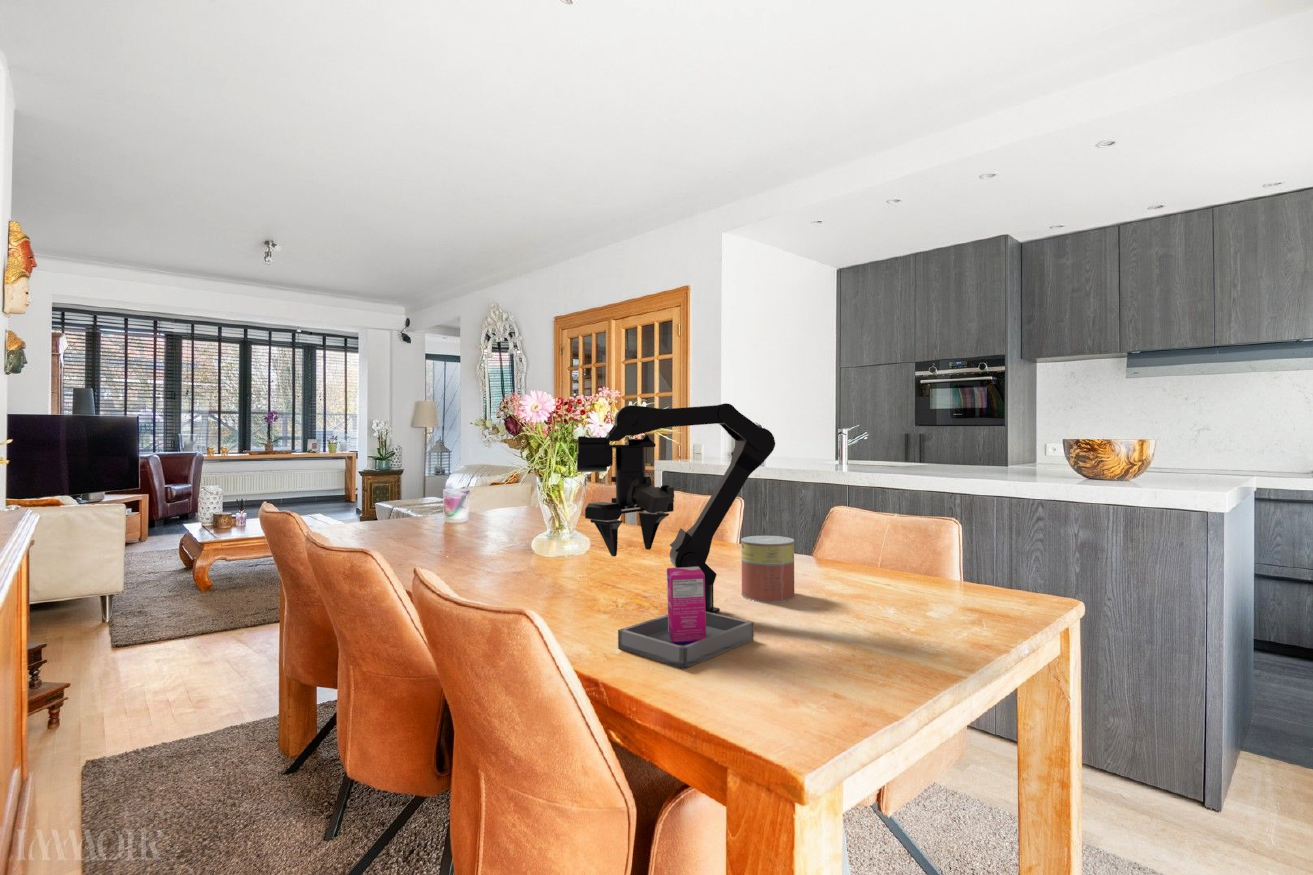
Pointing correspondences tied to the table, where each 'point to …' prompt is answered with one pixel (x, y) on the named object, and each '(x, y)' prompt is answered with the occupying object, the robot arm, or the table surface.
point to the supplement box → (686, 605)
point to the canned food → (767, 568)
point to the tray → (658, 645)
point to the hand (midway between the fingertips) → (631, 552)
